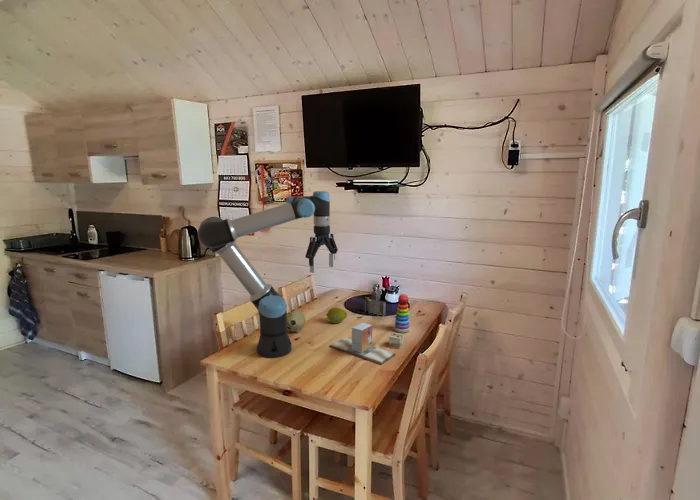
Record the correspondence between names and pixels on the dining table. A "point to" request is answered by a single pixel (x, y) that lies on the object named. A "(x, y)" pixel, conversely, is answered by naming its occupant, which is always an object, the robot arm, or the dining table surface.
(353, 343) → the small box
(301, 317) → the toy pig
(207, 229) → the robot arm
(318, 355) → the dining table surface
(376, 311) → the grey slab
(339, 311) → the green fruit
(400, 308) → the stacking toy
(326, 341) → the dining table surface
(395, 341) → the die
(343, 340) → the game board
